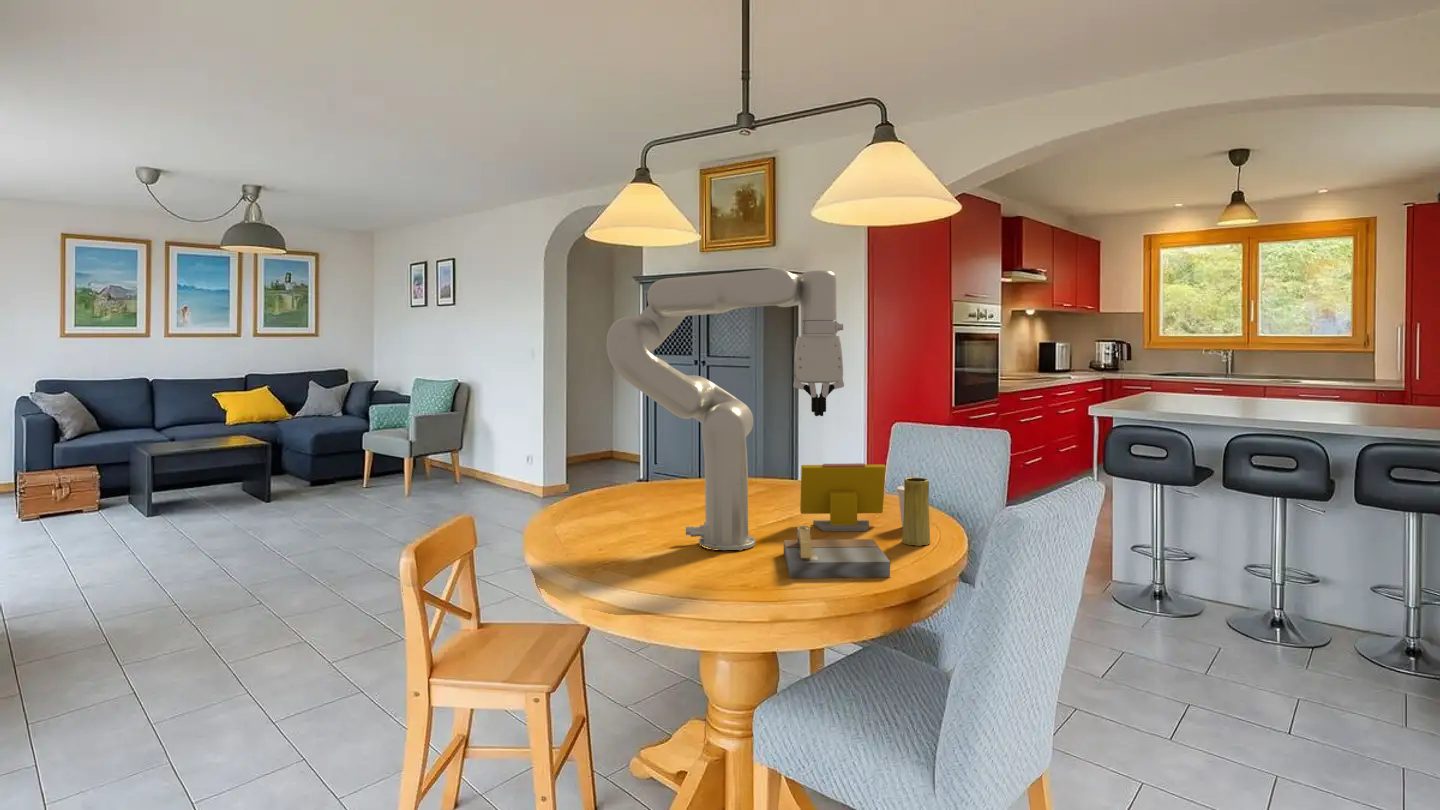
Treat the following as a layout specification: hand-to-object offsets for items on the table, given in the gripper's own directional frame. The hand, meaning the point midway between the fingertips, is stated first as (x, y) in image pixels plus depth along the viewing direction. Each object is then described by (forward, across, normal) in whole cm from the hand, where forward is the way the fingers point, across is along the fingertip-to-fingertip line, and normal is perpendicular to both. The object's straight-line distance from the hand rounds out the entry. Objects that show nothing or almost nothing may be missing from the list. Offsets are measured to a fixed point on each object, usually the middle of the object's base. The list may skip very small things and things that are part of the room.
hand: (818, 415), depth 165 cm
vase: (+29, -22, -4) cm, 37 cm away
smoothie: (+29, -24, -18) cm, 42 cm away
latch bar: (+26, +4, +13) cm, 29 cm away
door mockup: (+29, -2, +13) cm, 32 cm away
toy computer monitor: (+29, -8, -19) cm, 36 cm away
